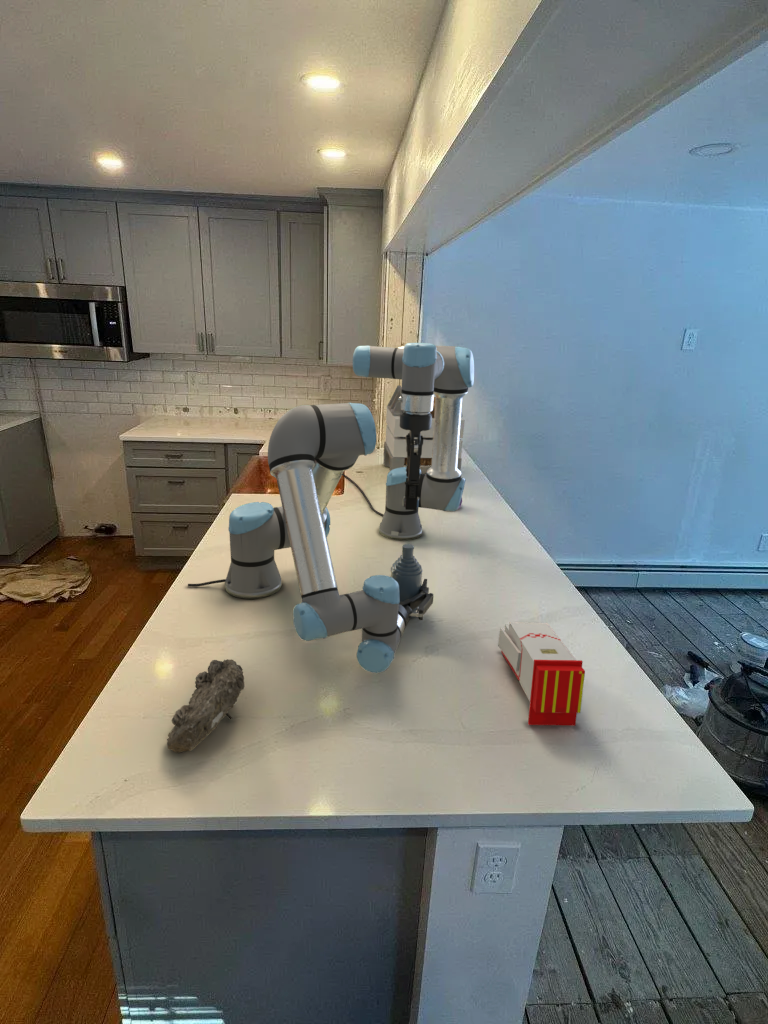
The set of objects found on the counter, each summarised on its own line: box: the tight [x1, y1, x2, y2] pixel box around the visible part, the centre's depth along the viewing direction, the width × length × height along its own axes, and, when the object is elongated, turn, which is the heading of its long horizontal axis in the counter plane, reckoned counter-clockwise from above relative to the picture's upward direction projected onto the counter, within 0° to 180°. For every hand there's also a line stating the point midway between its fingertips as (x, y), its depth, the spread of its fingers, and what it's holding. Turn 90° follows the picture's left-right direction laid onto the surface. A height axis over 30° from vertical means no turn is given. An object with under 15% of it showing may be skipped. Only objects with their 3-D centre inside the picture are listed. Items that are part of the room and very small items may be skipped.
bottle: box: [389, 543, 424, 619], centre depth 146 cm, size 8×8×18 cm
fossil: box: [166, 658, 245, 754], centre depth 106 cm, size 22×10×15 cm
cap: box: [403, 496, 420, 508], centre depth 140 cm, size 4×4×2 cm
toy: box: [497, 621, 586, 727], centre depth 121 cm, size 12×13×30 cm
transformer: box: [383, 384, 465, 472], centre depth 268 cm, size 34×33×41 cm
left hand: (409, 581), depth 152 cm, fingers closed on bottle, 8 cm apart
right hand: (410, 505), depth 141 cm, fingers closed on cap, 4 cm apart
